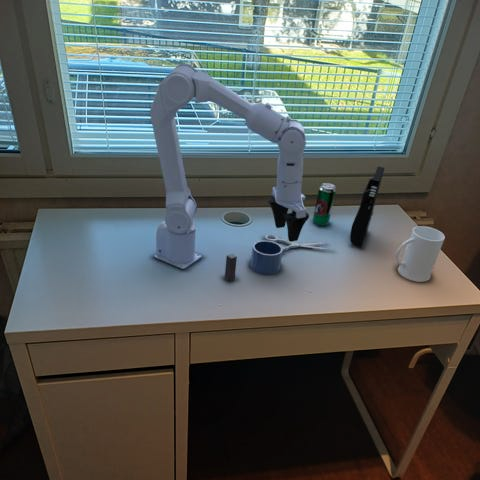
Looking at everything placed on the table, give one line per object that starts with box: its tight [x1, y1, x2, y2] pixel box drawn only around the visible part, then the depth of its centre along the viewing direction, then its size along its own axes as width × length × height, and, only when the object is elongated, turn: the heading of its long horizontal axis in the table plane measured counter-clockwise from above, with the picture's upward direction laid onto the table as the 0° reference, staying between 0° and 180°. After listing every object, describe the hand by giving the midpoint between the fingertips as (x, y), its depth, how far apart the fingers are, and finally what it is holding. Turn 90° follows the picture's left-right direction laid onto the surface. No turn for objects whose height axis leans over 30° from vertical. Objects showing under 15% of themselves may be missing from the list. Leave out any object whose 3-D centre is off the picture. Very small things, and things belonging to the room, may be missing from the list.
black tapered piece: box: [349, 166, 385, 248], centre depth 134 cm, size 12×5×20 cm, turn 160°
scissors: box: [264, 234, 332, 252], centre depth 132 cm, size 11×1×20 cm
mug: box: [395, 225, 446, 283], centre depth 123 cm, size 12×8×12 cm
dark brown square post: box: [224, 253, 238, 282], centre depth 114 cm, size 2×2×6 cm
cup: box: [250, 240, 284, 275], centre depth 121 cm, size 8×8×6 cm
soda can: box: [312, 182, 337, 227], centre depth 142 cm, size 5×5×12 cm
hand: (286, 233), depth 115 cm, fingers open, 7 cm apart
